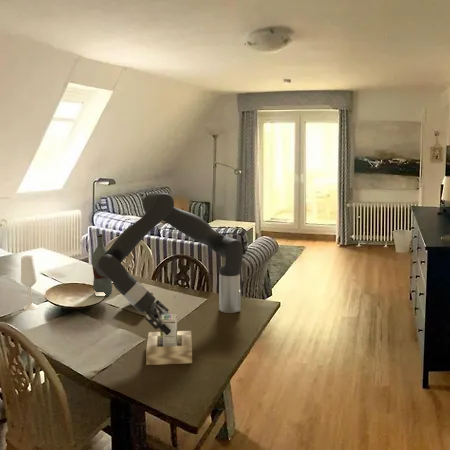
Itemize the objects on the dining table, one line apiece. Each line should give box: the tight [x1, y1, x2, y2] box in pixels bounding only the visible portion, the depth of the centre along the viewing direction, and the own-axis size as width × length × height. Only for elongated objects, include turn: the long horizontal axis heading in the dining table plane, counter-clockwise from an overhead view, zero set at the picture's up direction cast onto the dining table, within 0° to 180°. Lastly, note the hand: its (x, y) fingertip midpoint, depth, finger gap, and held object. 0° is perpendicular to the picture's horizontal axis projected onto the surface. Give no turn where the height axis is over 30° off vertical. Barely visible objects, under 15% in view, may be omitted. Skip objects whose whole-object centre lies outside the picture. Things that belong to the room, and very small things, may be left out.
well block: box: [145, 330, 193, 366], centre depth 180 cm, size 16×16×5 cm
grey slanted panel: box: [115, 290, 154, 312], centre depth 220 cm, size 16×9×15 cm
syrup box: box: [159, 313, 178, 347], centre depth 179 cm, size 6×6×14 cm
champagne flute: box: [20, 255, 40, 311], centre depth 221 cm, size 7×7×24 cm
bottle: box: [91, 233, 113, 297], centre depth 237 cm, size 9×9×30 cm
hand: (171, 328), depth 178 cm, fingers open, 8 cm apart
